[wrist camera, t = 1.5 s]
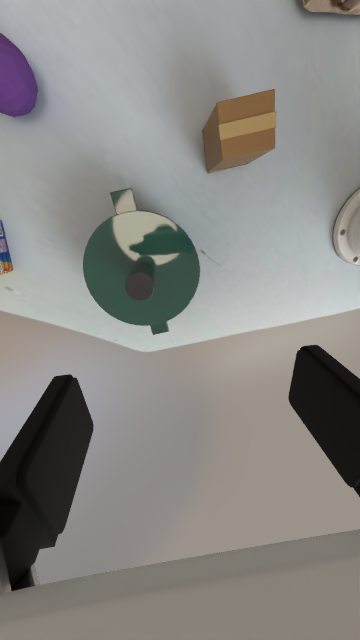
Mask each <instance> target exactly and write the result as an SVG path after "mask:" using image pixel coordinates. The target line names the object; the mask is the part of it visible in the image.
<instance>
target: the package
mask: <svg viewBox="0 0 360 640" xmlns="http://www.w3.org/2000/svg"><path fill="white" fill-rule="evenodd" d="M275 127H276V112H275V89H272V90H268V91H264V92H260V93H255V94H251V95H247V96H243V97H238V98H234V99H230V100H226V101H222V102H217V104H216V106H215V108H214V109H213V111H212V113H211V115H210V117H209V119H208V121H207V123H206V125H205V127H204V129H203V131H202V133H203V141H204V149H205V157H206V165H207V172H208V173H210V172H214V171H218V170H223V169H227V168H231V167H235V166H240V165H244V164H248V163H249V162H251V161H253V160H255V159H257V158H258V157H260V156H262V155H264V154H265V153H267V152H269V151H271V150H273V149H274V148H275Z"/></svg>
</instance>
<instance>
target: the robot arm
mask: <svg viewBox="0 0 360 640" xmlns="http://www.w3.org/2000/svg"><path fill="white" fill-rule="evenodd" d="M333 240H334V246H335V250H336V252H337V254H338V255H339V256H340V257H341V258H342V259H343V260H344V261H346V262H348V263H351V264H355V265H360V189H358V190H357V191H356V192H355V193H354V194H353V195H352V196H351V197H350V198H349V199H348V201H347V202H346V203H345V205H344V206H343V208H342V209H341V211H340V213H339V216H338V218H337V220H336V224H335V227H334V234H333ZM289 402H290V404H291V406H292V407H293V409H294V410H295V411H296V413H297V414H298V416H299V417H300V418H301V420H302V421H303V423H304V424H305V426H306V427H307V428H308V430H309V431H310V433H311V434H312V435H313V437H314V438H315V440H316V441H317V443H318V444H319V445H320V447H321V448H322V450H323V451H324V453H325V454H326V456H327V457H328V458H329V460H330V461H331V462H332V464H333V466H334V467H335V468H336V470H337V471H338V473H339V474H340V475H341V477H342V478H343V480H344V481H345V482H346V484H347V485H348V486H350V487H353V488H354V490H355V491H356V492H357V494H358V495H359V497H360V379H359V378H358V377H357V376H355V375H354V374H353V373H351V372H350V371H349V370H348V369H347V368H345V367H344V366H343V365H342V364H341V363H339V362H338V361H337V360H336V359H334V358H333V357H332V356H331V355H329V354H328V353H327V352H326V351H324V350H323V349H322V348H321V347H319V346H318V345H310V346H303V347H301V348H300V350H299V351H298V352H297V355H296V360H295V365H294V371H293V376H292V381H291V386H290V392H289ZM92 433H93V421H92V419H91V416H90V413H89V410H88V407H87V405H86V402H85V399H84V397H83V394H82V391H81V388H80V386H79V383H78V380H77V378H73V377H72V375H62V376H56V377H54V378H53V379H52V381H51V383H50V384H49V386H48V387H47V389H46V390H45V392H44V394H43V395H42V397H41V398H40V400H39V402H38V403H37V405H36V406H35V408H34V410H33V411H32V413H31V414H30V416H29V417H28V419H27V421H26V422H25V424H24V425H23V427H22V429H21V430H20V432H19V433H18V435H17V436H16V438H15V440H14V441H13V443H12V444H11V446H10V447H9V449H8V451H7V452H6V454H5V455H4V457H3V459H2V460H1V462H0V640H360V529H359V530H353V531H347V532H340V533H334V534H328V535H322V536H316V537H310V538H304V539H298V540H292V541H286V542H280V543H274V544H268V545H262V546H256V547H250V548H244V549H238V550H232V551H226V552H221V553H215V554H209V555H203V556H197V557H191V558H186V559H180V560H174V561H168V562H162V563H157V564H151V565H145V566H140V567H134V568H128V569H122V570H117V571H111V572H105V573H100V574H94V575H88V576H83V577H78V578H73V579H68V580H63V581H58V582H53V583H48V584H43V585H40V583H39V580H38V576H37V572H36V569H35V566H34V563H35V560H36V558H37V555H38V552H39V549H43V548H48V547H54V546H55V543H56V540H57V537H58V534H61V533H62V532H63V530H64V528H65V525H66V522H67V518H68V515H69V512H70V508H71V505H72V501H73V498H74V495H75V491H76V488H77V484H78V481H79V477H80V474H81V471H82V467H83V464H84V460H85V457H86V453H87V450H88V446H89V443H90V439H91V436H92Z"/></svg>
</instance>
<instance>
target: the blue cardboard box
mask: <svg viewBox="0 0 360 640" xmlns="http://www.w3.org/2000/svg"><path fill="white" fill-rule="evenodd" d="M12 270H13V266H12V262H11V258H10V254H9V249H8V245H7V241H6V237H5V232H4V228H3V224H2V221H0V275H2V274H4V273H7V272H10V271H12Z"/></svg>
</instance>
